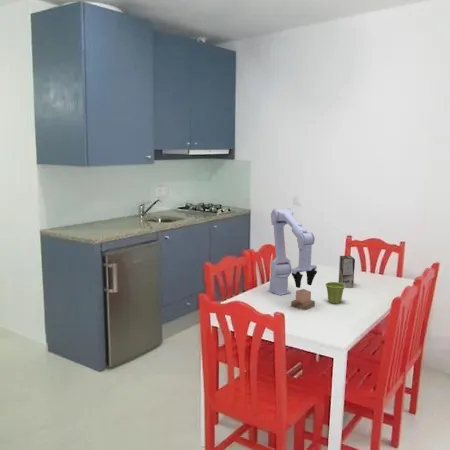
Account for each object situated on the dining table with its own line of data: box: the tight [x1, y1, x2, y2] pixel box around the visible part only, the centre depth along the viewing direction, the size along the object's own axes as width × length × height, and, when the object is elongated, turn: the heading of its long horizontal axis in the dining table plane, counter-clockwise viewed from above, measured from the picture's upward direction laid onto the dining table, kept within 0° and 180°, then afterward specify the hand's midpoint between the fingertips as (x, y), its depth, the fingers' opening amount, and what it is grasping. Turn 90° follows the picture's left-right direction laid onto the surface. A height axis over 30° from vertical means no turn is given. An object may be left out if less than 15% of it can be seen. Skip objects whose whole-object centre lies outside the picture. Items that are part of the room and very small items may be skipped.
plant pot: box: [325, 281, 345, 304], centre depth 226 cm, size 9×9×9 cm
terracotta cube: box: [295, 288, 312, 303], centre depth 219 cm, size 5×5×5 cm
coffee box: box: [338, 255, 356, 289], centre depth 253 cm, size 9×6×16 cm
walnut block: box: [290, 299, 316, 311], centre depth 219 cm, size 8×8×3 cm
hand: (303, 286), depth 218 cm, fingers open, 7 cm apart
